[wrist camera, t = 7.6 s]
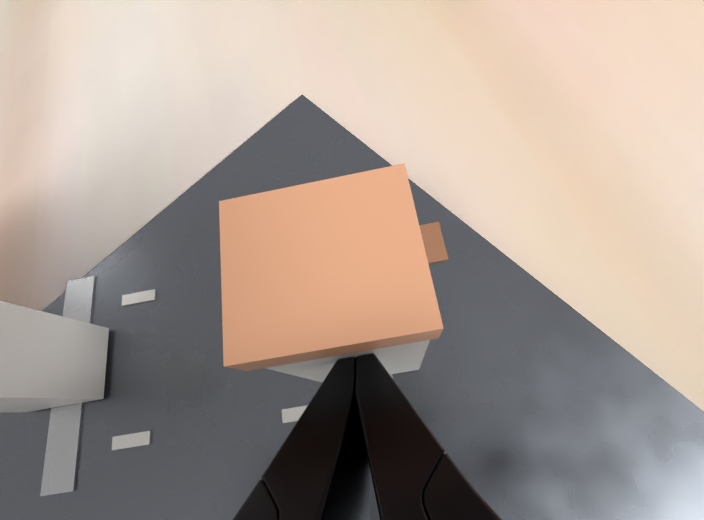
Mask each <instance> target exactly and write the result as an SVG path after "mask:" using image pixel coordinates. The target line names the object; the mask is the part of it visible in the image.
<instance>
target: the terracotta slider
mask: <svg viewBox="0 0 704 520" xmlns="http://www.w3.org/2000/svg"><path fill="white" fill-rule="evenodd" d="M219 219H220V255H221V291H222V328H223V364H224V367H228V368H233V369H238V370H243V371H250V370H256V369H262V368H266V369H270V370H274V371H278V372H282V373H286V374H290V375H294V376H298V377H302V378H306V379H310V380H314V381H318V382H322V383H323V381H324V379H325V378H326V376H327V375H328V373H329V372H330V370H331V369H332V367H333V366H334V364H335V362H336V361H337V360H338V359H341V358H347V357H355V358H357V356H359V355H364V354H370V353H374V354H375V355H376V356H377V358H378V359H379V361H380V362H381V363H382V365H383V366H384V367H385V369H386V370H387V371H388V373H389V374H396V373H402V372H408V371H414V370H419V368H420V366H421V363H422V360H423V358H424V355H425V352H426V349H427V347H428V344H429V341H430V340H432V339H437V338H439V337H440V335H441V333H442V331H443V329H444V328H443V324H442V319H441V315H440V311H439V307H438V302H437V298H436V294H435V290H434V286H433V281H432V277H431V273H430V269H429V264H428V260H427V256H426V252H425V248H424V243H423V239H422V235H421V231H420V226H419V222H418V218H417V214H416V209H415V205H414V201H413V197H412V193H411V188H410V184H409V180H408V176H407V171H406V167H405V163H404V164H399V165H394V166H389V167H384V168H379V169H374V170H369V171H365V172H360V173H355V174H350V175H345V176H340V177H335V178H330V179H325V180H320V181H315V182H311V183H306V184H301V185H296V186H291V187H286V188H281V189H276V190H271V191H266V192H262V193H257V194H252V195H247V196H242V197H237V198H232V199H227V200H222V201H219Z"/></svg>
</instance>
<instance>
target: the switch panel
mask: <svg viewBox="0 0 704 520" xmlns="http://www.w3.org/2000/svg"><path fill="white" fill-rule="evenodd" d="M389 166H392V165H391V164H389V163H388V162H387V161H386V160H384V159H383V158H382V157H381V156H379V155H378V154H377V153H375V152H374V151H373V150H372V149H370V148H369V147H368V146H367V145H365V144H364V143H363V142H362V141H360V140H359V139H358V138H356V137H355V136H354V135H353V134H351V133H350V132H349V131H348V130H346V129H345V128H344V127H343V126H341V125H340V124H339V123H337V122H336V121H335V120H334V119H332V118H331V117H330V116H329V115H327V114H326V113H325V112H324V111H322V110H321V109H320V108H318V107H317V106H316V105H315V104H313V103H312V102H311V101H310V100H308V99H307V98H306V97H305V96H303V95H301V96H300V97H299V98H297V99H296V100H295V101H294V102H293V103H291V104H290V105H289V106H288V107H287V108H285V109H284V110H283V111H282V112H281V113H279V114H278V115H277V116H276V117H275V118H273V119H272V120H271V121H270V122H269V123H267V124H266V125H265V126H264V127H263V128H261V129H260V130H259V131H258V132H257V133H255V134H254V135H253V136H252V137H251V138H249V139H248V140H247V141H246V142H245V143H243V144H242V145H241V146H240V147H239V148H237V149H236V150H235V151H234V152H233V153H231V154H230V155H229V156H228V157H227V158H225V159H224V160H223V161H222V162H221V163H219V164H218V165H217V166H216V167H215V168H213V169H212V170H211V171H210V172H209V173H207V174H206V175H205V176H204V177H203V178H201V179H200V180H199V181H198V182H197V183H195V184H194V185H193V186H192V187H191V188H189V189H188V190H187V191H186V192H185V193H184V194H182V195H181V196H180V197H179V198H178V199H176V200H175V201H174V202H173V203H172V204H170V205H169V206H168V207H167V208H166V209H164V210H163V211H162V212H161V213H160V214H158V215H157V216H156V217H155V218H154V219H152V220H151V221H150V222H149V223H148V224H146V225H145V226H144V227H143V228H142V229H140V230H139V231H138V232H137V233H136V234H134V235H133V236H132V237H131V238H130V239H128V240H127V241H126V242H125V243H124V244H122V245H121V246H120V247H119V248H118V249H116V250H115V251H114V252H113V253H112V254H110V255H109V256H108V257H107V258H106V259H104V260H103V261H102V262H101V263H100V264H98V265H97V266H96V267H95V268H94V269H92V270H91V271H90V272H89V273H88V274H86V275H85V276H84V277H83V278H81V279H76V280H70V281H67V285H66V292H65V293H64V294H62V295H61V296H60V297H59V298H58V299H56V300H55V301H54V302H53V303H52V304H50V305H49V306H48V307H47V308H46V309H44V310H43V312H47V313H51V314H55V315H59V316H63V317H67V318H71V319H75V320H79V321H83V322H87V323H91V324H95V325H99V326H103V327H106V328H109V336H108V349H107V361H106V374H105V386H104V399H100V400H95V401H89V402H83V403H77V404H71V405H65V406H59V407H53V408H48V409H42V410H36V411H30V412H11V413H0V520H233V518H234V517H235V515H236V514H237V512H238V511H239V510H240V508H241V507H242V505H243V504H244V502H245V501H246V499H247V498H248V496H249V495H250V493H251V492H252V490H253V489H254V487H255V486H256V484H257V482H258V481H259V480H262V475H263V474H264V472H265V470H266V469H267V467H268V466H269V464H270V463H271V461H272V460H273V458H274V457H275V455H276V453H277V452H278V450H279V449H280V447H281V446H282V444H283V443H284V441H285V440H286V438H287V436H288V435H289V433H290V432H291V430H292V429H293V427H294V426H295V424H296V423H297V421H298V420H299V418H300V416H301V415H302V413H303V412H304V410H305V409H306V407H307V406H308V404H309V403H310V401H311V399H312V398H313V396H314V395H315V393H316V392H317V390H318V389H319V387H320V386H321V384H322V382H318V381H314V380H310V379H306V378H302V377H298V376H294V375H290V374H286V373H282V372H278V371H274V370H270V369H266V368H262V369H256V370H250V371H243V370H238V369H233V368H228V367H224V364H223V328H222V291H221V255H220V219H219V201H222V200H227V199H232V198H237V197H242V196H247V195H252V194H257V193H262V192H266V191H271V190H276V189H281V188H286V187H291V186H296V185H301V184H306V183H311V182H315V181H320V180H325V179H330V178H335V177H340V176H345V175H350V174H355V173H360V172H365V171H369V170H374V169H379V168H384V167H389ZM408 180H409V184H410V188H411V193H412V197H413V201H414V205H415V209H416V214H417V218H418V222H419V226H420V231H421V235H422V239H423V243H424V248H425V252H426V256H427V260H428V264H429V269H430V273H431V277H432V281H433V286H434V290H435V294H436V298H437V302H438V307H439V311H440V315H441V319H442V324H443V328H444V329H443V331H442V333H441V335H440V337H439V338H437V339H432V340H430V341H429V344H428V347H427V349H426V352H425V355H424V358H423V360H422V363H421V366H420V368H419V370H414V371H408V372H402V373H396V374H390V376H391V377H392V378H393V380H394V381H395V382H396V384H397V385H398V386H399V388H400V389H401V391H402V392H403V393H404V395H405V396H406V397H407V399H408V400H409V401H410V403H411V404H412V406H413V407H414V408H415V410H416V411H417V412H418V414H419V415H420V416H421V418H422V419H423V421H424V422H425V423H426V425H427V426H428V427H429V429H430V430H431V431H432V433H433V434H434V436H435V437H436V438H437V440H438V441H439V442H440V444H441V445H442V446H443V448H444V449H445V451H446V453H448V454H449V456H450V457H451V458H452V460H453V461H454V463H455V464H456V465H457V467H458V468H459V469H460V471H461V472H462V473H463V474H464V476H465V477H466V478H467V479H468V481H469V482H470V483H471V484H472V486H473V487H474V488H475V490H476V491H477V492H478V493H479V494H480V495H481V496H482V498H483V499H484V500H485V501H486V502H487V503H488V504H489V505H490V507H491V508H492V509H493V510H494V511H495V512H496V513H497V514H498V515H499V517H500V518H501V519H502V520H704V411H702V410H701V409H700V408H698V407H697V406H696V405H695V404H693V403H692V402H691V401H690V400H688V399H687V398H686V397H685V396H683V395H682V394H681V393H679V392H678V391H677V390H676V389H674V388H673V387H672V386H671V385H669V384H668V383H667V382H666V381H664V380H663V379H662V378H660V377H659V376H658V375H657V374H655V373H654V372H653V371H652V370H650V369H649V368H648V367H647V366H645V365H644V364H643V363H641V362H640V361H639V360H638V359H636V358H635V357H634V356H633V355H631V354H630V353H629V352H628V351H626V350H625V349H624V348H622V347H621V346H620V345H619V344H617V343H616V342H615V341H614V340H612V339H611V338H610V337H609V336H607V335H606V334H605V333H603V332H602V331H601V330H600V329H598V328H597V327H596V326H595V325H593V324H592V323H591V322H590V321H588V320H587V319H586V318H584V317H583V316H582V315H581V314H579V313H578V312H577V311H576V310H574V309H573V308H572V307H571V306H569V305H568V304H567V303H565V302H564V301H563V300H562V299H560V298H559V297H558V296H557V295H555V294H554V293H553V292H552V291H550V290H549V289H548V288H546V287H545V286H544V285H543V284H541V283H540V282H539V281H538V280H536V279H535V278H534V277H533V276H531V275H530V274H529V273H527V272H526V271H525V270H524V269H522V268H521V267H520V266H519V265H517V264H516V263H515V262H514V261H512V260H511V259H510V258H508V257H507V256H506V255H505V254H503V253H502V252H501V251H500V250H498V249H497V248H496V247H495V246H493V245H492V244H491V243H489V242H488V241H487V240H486V239H484V238H483V237H482V236H481V235H479V234H478V233H477V232H476V231H474V230H473V229H472V228H470V227H469V226H468V225H467V224H465V223H464V222H463V221H462V220H460V219H459V218H458V217H457V216H455V215H454V214H453V213H451V212H450V211H449V210H448V209H446V208H445V207H444V206H443V205H441V204H440V203H439V202H438V201H436V200H435V199H434V198H432V197H431V196H430V195H429V194H427V193H426V192H425V191H424V190H422V189H421V188H420V187H419V186H417V185H416V184H415V183H413V182H412V181H411V180H410V179H408ZM370 520H380V517H379V512H378V507H377V502H376V497H375V492H374V487H373V482H372V477H371V478H370Z"/></svg>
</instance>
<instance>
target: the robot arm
mask: <svg viewBox="0 0 704 520" xmlns="http://www.w3.org/2000/svg"><path fill="white" fill-rule="evenodd" d="M371 477H372V482H373V487H374V492H375V497H376V502H377V507H378V512H379V517H380V520H502V519H501V518H500V517H499V515H498V514H497V513H496V512H495V511H494V510H493V509H492V508H491V507H490V505H489V504H488V503H487V502H486V501H485V500H484V499H483V498H482V496H481V495H480V494H479V493H478V492H477V491H476V490H475V488H474V487H473V486H472V484H471V483H470V482H469V481H468V479H467V478H466V477H465V476H464V474H463V473H462V472H461V471H460V469H459V468H458V467H457V465H456V464H455V463H454V461H453V460H452V458H451V457H450V456H449V454H448V453H446V451H445V449H444V448H443V446H442V445H441V444H440V442H439V441H438V440H437V438H436V437H435V436H434V434H433V433H432V431H431V430H430V429H429V427H428V426H427V425H426V423H425V422H424V421H423V419H422V418H421V416H420V415H419V414H418V412H417V411H416V410H415V408H414V407H413V406H412V404H411V403H410V401H409V400H408V399H407V397H406V396H405V395H404V393H403V392H402V391H401V389H400V388H399V386H398V385H397V384H396V382H395V381H394V380H393V378H392V377H391V376H390V374H389V373H388V371H387V370H386V369H385V367H384V366H383V365H382V363H381V362H380V361H379V359H378V358H377V356H376V355H375V354H374V353H370V354H364V355H359V356H357V358H355V357H347V358H341V359H338V360H337V361H336V362H335V364H334V366H333V367H332V369H331V370H330V372H329V373H328V375H327V376H326V378H325V379H324V381H323V383H322V384H321V386H320V387H319V389H318V390H317V392H316V393H315V395H314V396H313V398H312V399H311V401H310V403H309V404H308V406H307V407H306V409H305V410H304V412H303V413H302V415H301V416H300V418H299V420H298V421H297V423H296V424H295V426H294V427H293V429H292V430H291V432H290V433H289V435H288V436H287V438H286V440H285V441H284V443H283V444H282V446H281V447H280V449H279V450H278V452H277V453H276V455H275V457H274V458H273V460H272V461H271V463H270V464H269V466H268V467H267V469H266V470H265V472H264V474H263V475H262V480H259V481H258V482H257V484H256V486H255V487H254V489H253V490H252V492H251V493H250V495H249V496H248V498H247V499H246V501H245V502H244V504H243V505H242V507H241V508H240V510H239V511H238V512H237V514H236V515H235V517H234V518H233V520H370V478H371Z"/></svg>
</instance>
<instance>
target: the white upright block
mask: <svg viewBox="0 0 704 520" xmlns="http://www.w3.org/2000/svg"><path fill="white" fill-rule="evenodd" d="M108 336H109V328H106V327H103V326H99V325H95V324H91V323H87V322H83V321H79V320H75V319H71V318H67V317H63V316H59V315H55V314H51V313H47V312H43V311H39V310H35V309H31V308H27V307H23V306H19V305H15V304H11V303H7V302H3V301H0V413H11V412H30V411H36V410H42V409H48V408H53V407H59V406H65V405H71V404H77V403H83V402H89V401H95V400H100V399H104V386H105V374H106V361H107V349H108Z"/></svg>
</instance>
